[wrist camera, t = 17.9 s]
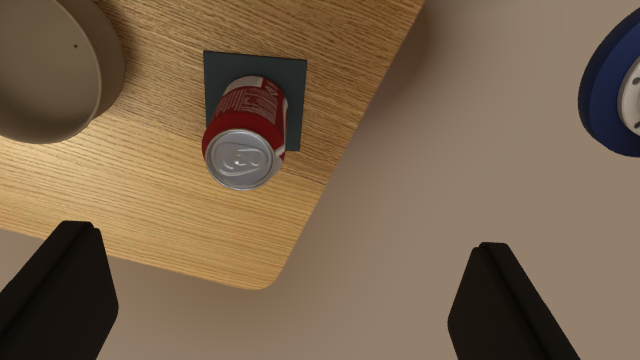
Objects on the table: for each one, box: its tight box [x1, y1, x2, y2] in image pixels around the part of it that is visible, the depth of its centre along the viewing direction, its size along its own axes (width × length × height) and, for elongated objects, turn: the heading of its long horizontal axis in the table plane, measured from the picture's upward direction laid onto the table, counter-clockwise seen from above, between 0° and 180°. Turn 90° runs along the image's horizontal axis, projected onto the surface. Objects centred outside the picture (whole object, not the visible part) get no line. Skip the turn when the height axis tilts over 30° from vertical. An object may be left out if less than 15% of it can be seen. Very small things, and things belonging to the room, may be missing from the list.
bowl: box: [0, 0, 126, 144], centre depth 35 cm, size 13×13×10 cm
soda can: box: [202, 75, 288, 191], centre depth 37 cm, size 7×7×12 cm
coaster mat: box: [203, 51, 307, 151], centre depth 43 cm, size 10×10×1 cm
